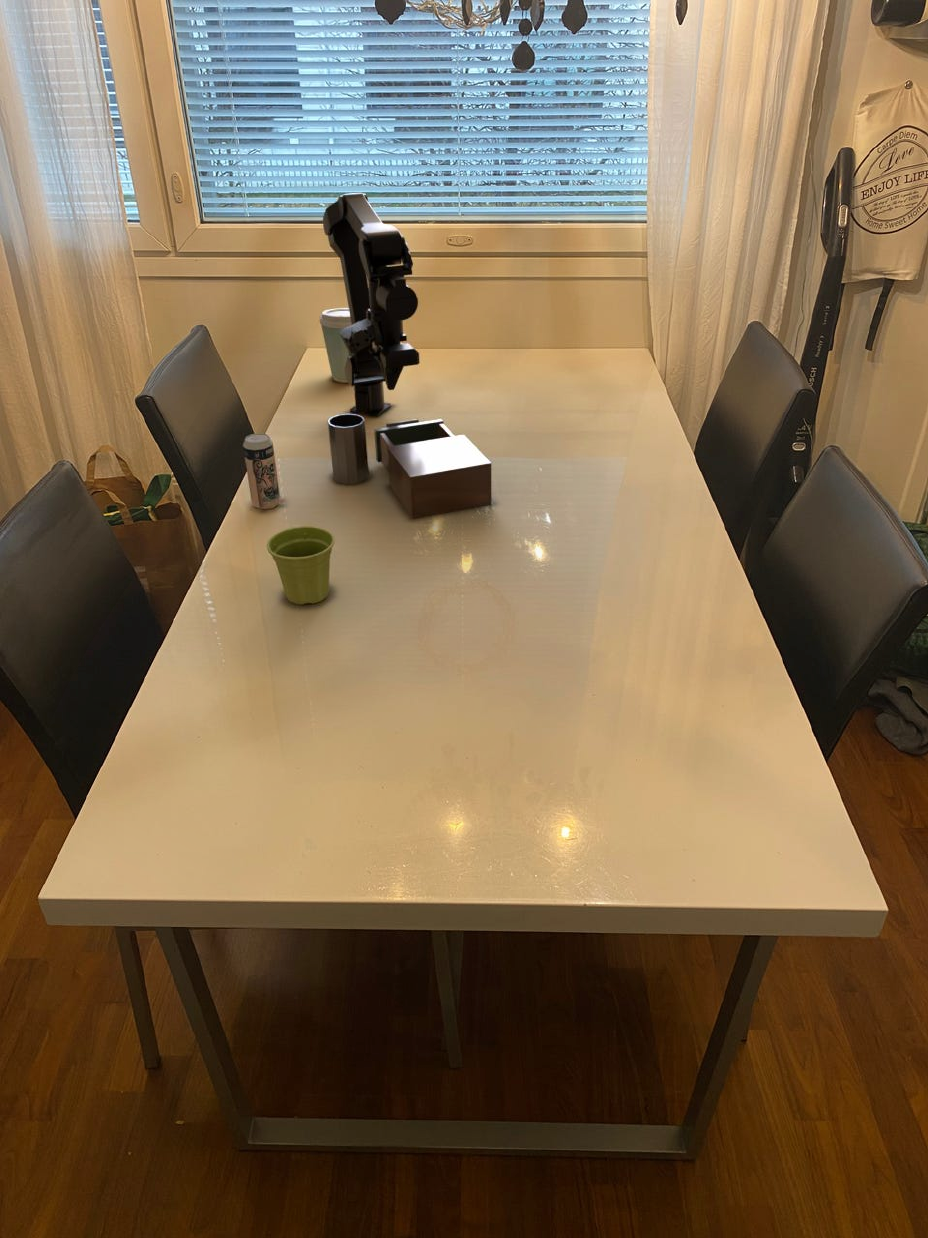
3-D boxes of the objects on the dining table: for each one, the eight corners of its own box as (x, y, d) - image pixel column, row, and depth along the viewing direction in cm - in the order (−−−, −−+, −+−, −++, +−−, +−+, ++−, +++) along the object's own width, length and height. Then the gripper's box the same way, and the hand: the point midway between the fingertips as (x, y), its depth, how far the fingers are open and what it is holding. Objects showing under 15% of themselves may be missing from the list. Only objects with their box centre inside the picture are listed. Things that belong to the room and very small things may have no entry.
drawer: (370, 451, 179) (367, 420, 175) (435, 441, 182) (433, 410, 179) (395, 487, 166) (393, 454, 163) (465, 474, 169) (464, 443, 166)
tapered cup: (354, 466, 175) (349, 411, 169) (375, 476, 171) (371, 420, 165) (326, 476, 172) (320, 420, 166) (348, 487, 168) (342, 430, 162)
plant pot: (260, 600, 137) (252, 546, 133) (304, 571, 144) (298, 519, 139) (310, 619, 133) (303, 564, 128) (353, 589, 139) (348, 536, 135)
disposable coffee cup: (328, 370, 219) (322, 303, 211) (375, 369, 219) (370, 303, 211) (320, 386, 211) (314, 317, 202) (369, 386, 210) (364, 317, 202)
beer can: (265, 513, 160) (256, 446, 153) (246, 505, 162) (235, 439, 156) (286, 502, 163) (278, 436, 157) (267, 495, 166) (257, 430, 159)
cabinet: (389, 486, 168) (386, 446, 164) (464, 473, 172) (463, 434, 168) (412, 518, 157) (410, 476, 153) (491, 504, 161) (491, 462, 157)
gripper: (329, 296, 177) (336, 379, 185) (355, 324, 162) (362, 412, 171) (387, 290, 180) (392, 371, 188) (418, 317, 165) (422, 403, 174)
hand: (390, 389), depth 180 cm, fingers closed
